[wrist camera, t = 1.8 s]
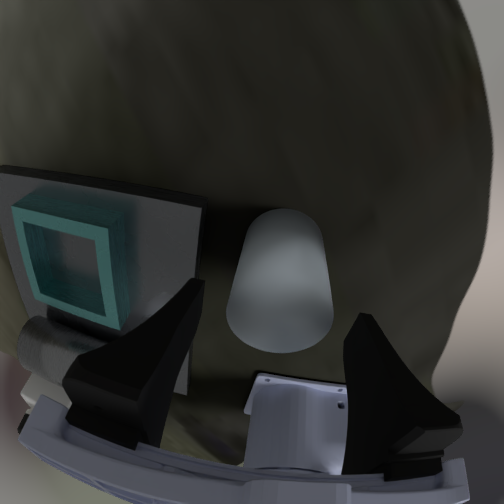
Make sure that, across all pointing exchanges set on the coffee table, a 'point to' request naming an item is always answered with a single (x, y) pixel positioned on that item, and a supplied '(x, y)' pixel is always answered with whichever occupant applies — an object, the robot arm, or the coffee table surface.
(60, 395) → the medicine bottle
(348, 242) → the coffee table surface
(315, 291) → the white rounded cylinder
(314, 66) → the coffee table surface
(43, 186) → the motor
